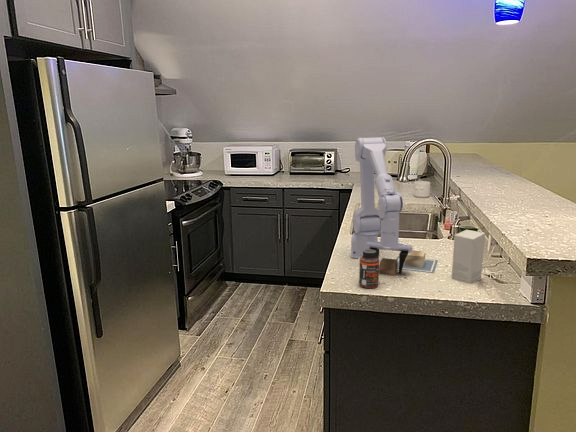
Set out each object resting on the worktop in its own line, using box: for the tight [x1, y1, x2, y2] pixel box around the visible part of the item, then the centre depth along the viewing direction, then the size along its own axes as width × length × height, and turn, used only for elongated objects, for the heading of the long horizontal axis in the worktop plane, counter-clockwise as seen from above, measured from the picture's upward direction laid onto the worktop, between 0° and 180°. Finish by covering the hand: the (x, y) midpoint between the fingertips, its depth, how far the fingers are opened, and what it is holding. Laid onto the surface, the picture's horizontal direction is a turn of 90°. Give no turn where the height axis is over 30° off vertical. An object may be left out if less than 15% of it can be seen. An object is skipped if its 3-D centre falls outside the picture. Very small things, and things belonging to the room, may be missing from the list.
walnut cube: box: [379, 257, 399, 277], centre depth 147 cm, size 5×5×5 cm
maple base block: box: [405, 249, 426, 268], centre depth 154 cm, size 6×6×4 cm
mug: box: [410, 180, 431, 199], centre depth 280 cm, size 12×10×9 cm
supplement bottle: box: [358, 249, 380, 289], centre depth 138 cm, size 6×6×11 cm
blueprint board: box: [396, 255, 439, 274], centre depth 155 cm, size 14×14×1 cm
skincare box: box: [451, 229, 486, 284], centre depth 140 cm, size 8×7×16 cm
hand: (388, 271), depth 148 cm, fingers open, 7 cm apart
